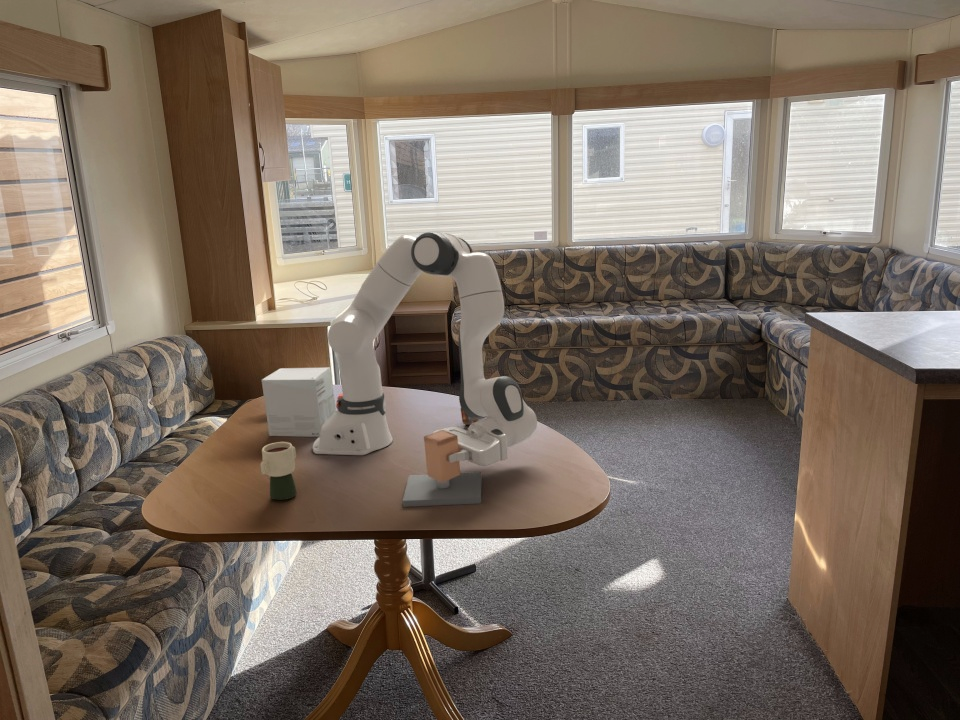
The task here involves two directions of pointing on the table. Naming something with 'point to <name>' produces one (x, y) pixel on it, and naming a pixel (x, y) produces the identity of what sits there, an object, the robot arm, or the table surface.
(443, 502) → the base
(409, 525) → the table surface
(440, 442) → the tall lidded tan box
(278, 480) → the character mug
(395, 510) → the table surface
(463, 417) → the tin
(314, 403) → the supplement box
